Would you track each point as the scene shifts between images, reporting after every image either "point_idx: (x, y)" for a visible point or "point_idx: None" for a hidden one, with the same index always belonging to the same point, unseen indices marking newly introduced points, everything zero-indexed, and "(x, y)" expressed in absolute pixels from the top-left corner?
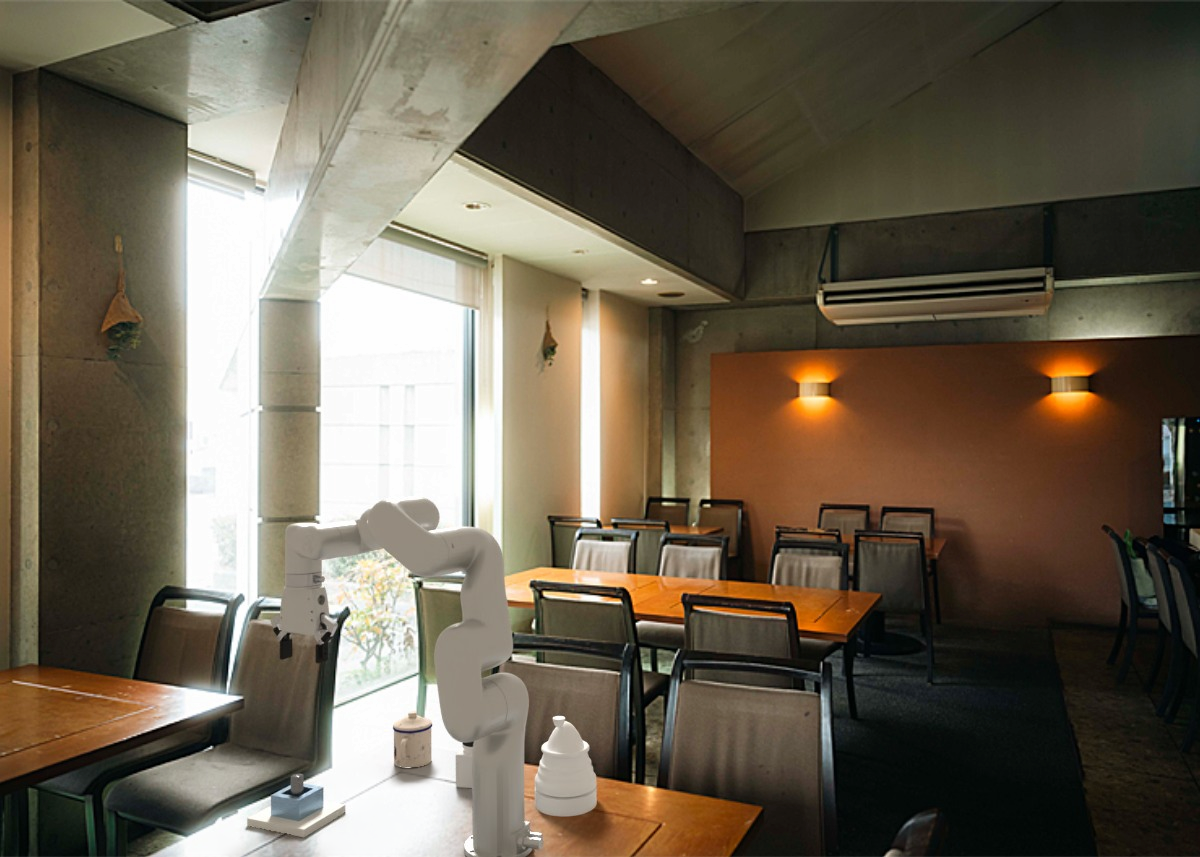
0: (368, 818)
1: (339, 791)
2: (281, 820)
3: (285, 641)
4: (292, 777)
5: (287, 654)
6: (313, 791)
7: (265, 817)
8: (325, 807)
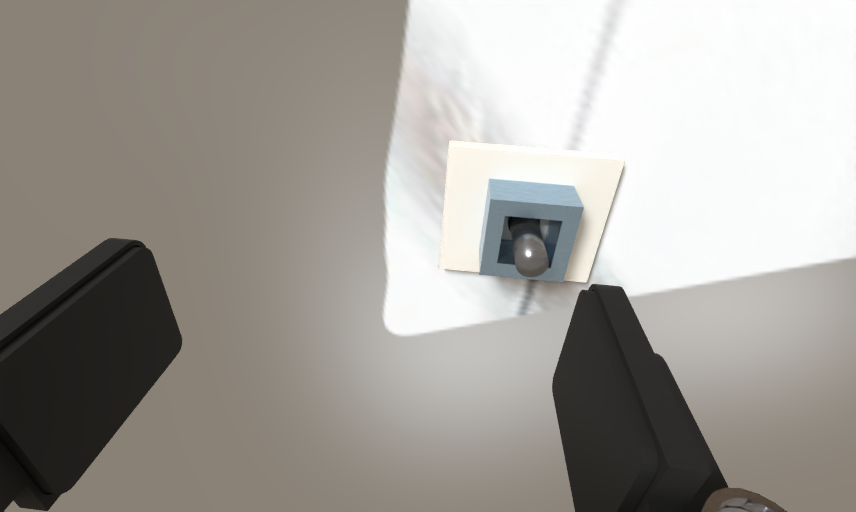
0: (693, 167)
1: (537, 34)
2: None
3: (45, 470)
4: (525, 274)
5: (148, 320)
6: (571, 236)
7: (473, 258)
8: (580, 186)
